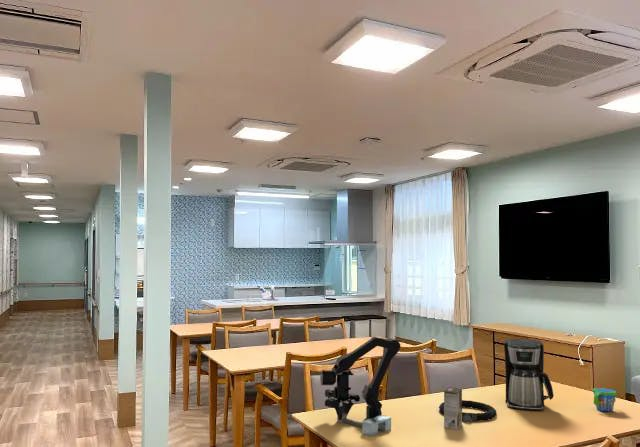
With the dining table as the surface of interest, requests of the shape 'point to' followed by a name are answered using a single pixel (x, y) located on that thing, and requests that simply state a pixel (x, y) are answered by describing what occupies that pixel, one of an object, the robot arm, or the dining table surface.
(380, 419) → the motor housing
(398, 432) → the dining table surface
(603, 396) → the snack cup
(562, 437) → the dining table surface
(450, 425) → the coffee box
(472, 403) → the cable lock
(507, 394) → the coffee maker
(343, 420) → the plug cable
